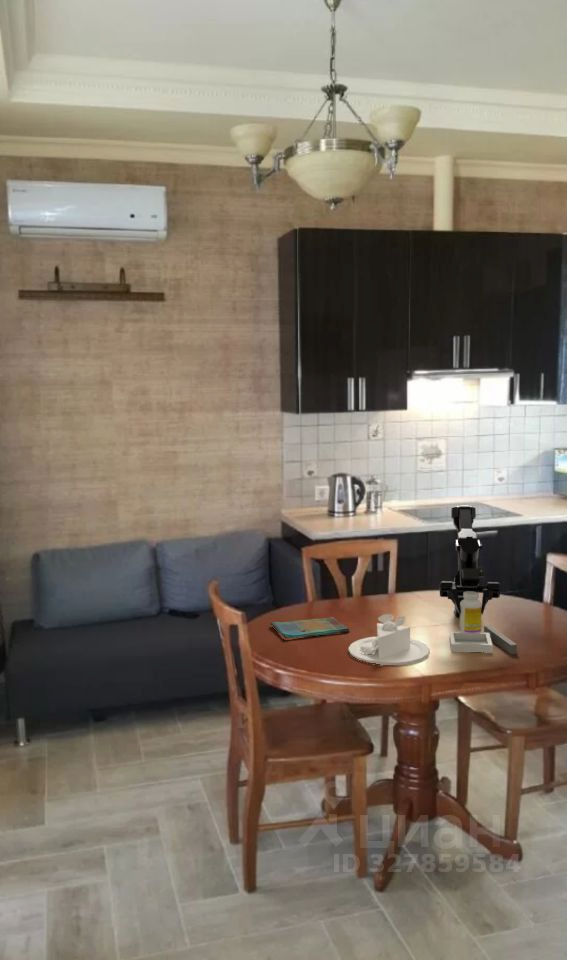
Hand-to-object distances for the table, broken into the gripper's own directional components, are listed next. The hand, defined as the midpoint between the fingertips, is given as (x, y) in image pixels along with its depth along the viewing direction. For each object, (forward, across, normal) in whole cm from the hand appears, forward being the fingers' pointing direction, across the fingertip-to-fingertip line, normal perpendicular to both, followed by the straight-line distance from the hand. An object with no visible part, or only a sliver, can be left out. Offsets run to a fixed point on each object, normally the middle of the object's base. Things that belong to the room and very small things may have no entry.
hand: (470, 613), depth 248 cm
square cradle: (+7, 0, +8) cm, 11 cm away
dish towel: (-1, -53, +18) cm, 56 cm away
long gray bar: (+5, +9, +10) cm, 15 cm away
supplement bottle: (+4, 0, +6) cm, 7 cm away
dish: (+13, -25, +3) cm, 28 cm away
